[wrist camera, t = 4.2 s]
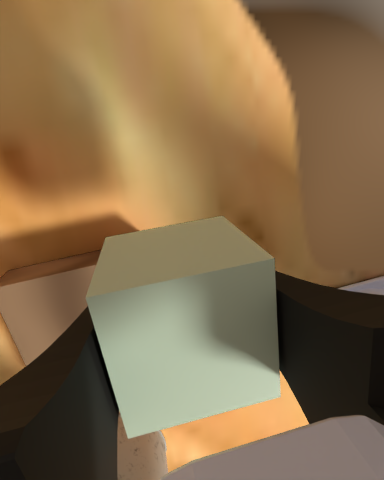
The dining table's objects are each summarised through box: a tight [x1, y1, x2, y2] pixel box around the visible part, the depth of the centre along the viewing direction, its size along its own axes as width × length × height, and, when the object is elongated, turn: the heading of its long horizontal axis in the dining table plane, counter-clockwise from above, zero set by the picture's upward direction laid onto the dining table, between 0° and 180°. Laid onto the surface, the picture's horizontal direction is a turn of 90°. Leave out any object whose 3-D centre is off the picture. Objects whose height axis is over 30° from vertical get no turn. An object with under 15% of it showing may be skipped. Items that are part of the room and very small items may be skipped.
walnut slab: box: [0, 250, 101, 366], centre depth 19 cm, size 9×9×2 cm
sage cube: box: [86, 216, 281, 439], centre depth 11 cm, size 5×5×5 cm
